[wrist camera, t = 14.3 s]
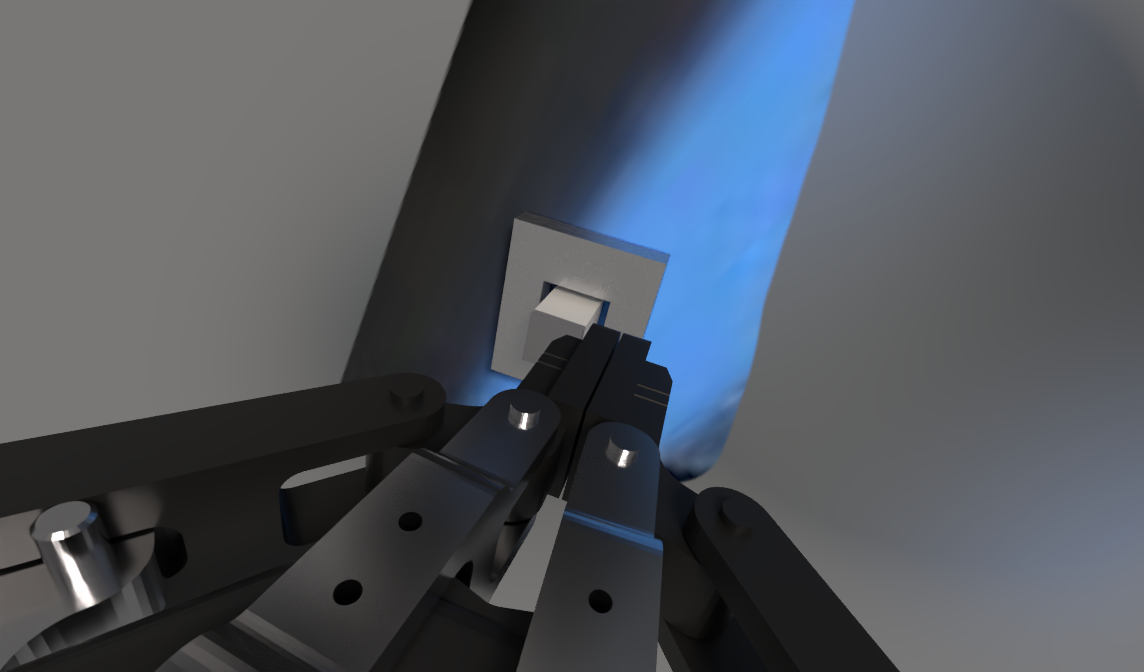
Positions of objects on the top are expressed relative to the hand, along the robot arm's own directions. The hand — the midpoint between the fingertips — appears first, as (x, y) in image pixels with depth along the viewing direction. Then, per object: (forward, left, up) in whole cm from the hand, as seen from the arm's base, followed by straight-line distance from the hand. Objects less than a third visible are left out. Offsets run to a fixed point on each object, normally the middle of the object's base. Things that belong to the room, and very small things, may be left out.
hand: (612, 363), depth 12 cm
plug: (+12, -6, -27) cm, 30 cm away
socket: (+12, -6, -27) cm, 30 cm away
